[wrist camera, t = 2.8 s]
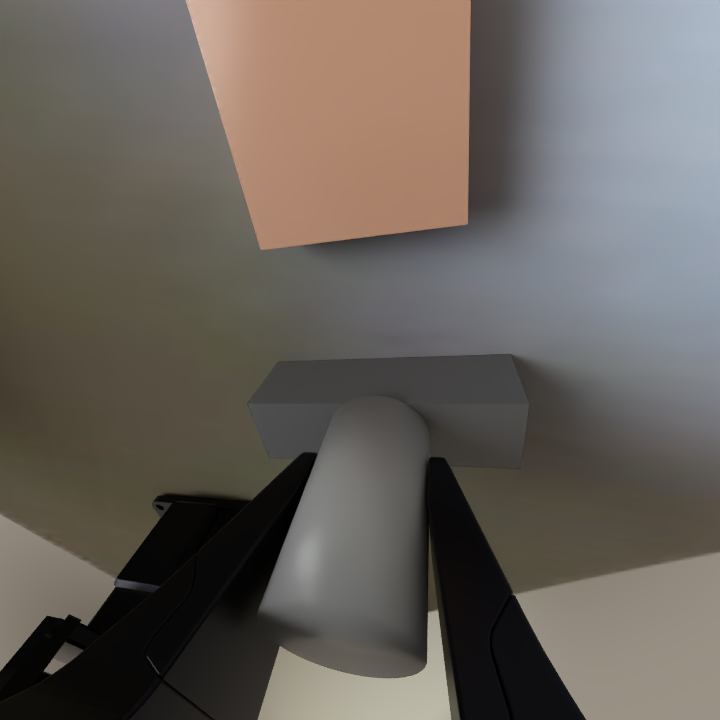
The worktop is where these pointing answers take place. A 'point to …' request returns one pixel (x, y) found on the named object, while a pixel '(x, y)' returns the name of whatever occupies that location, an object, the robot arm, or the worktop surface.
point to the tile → (342, 112)
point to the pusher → (374, 494)
